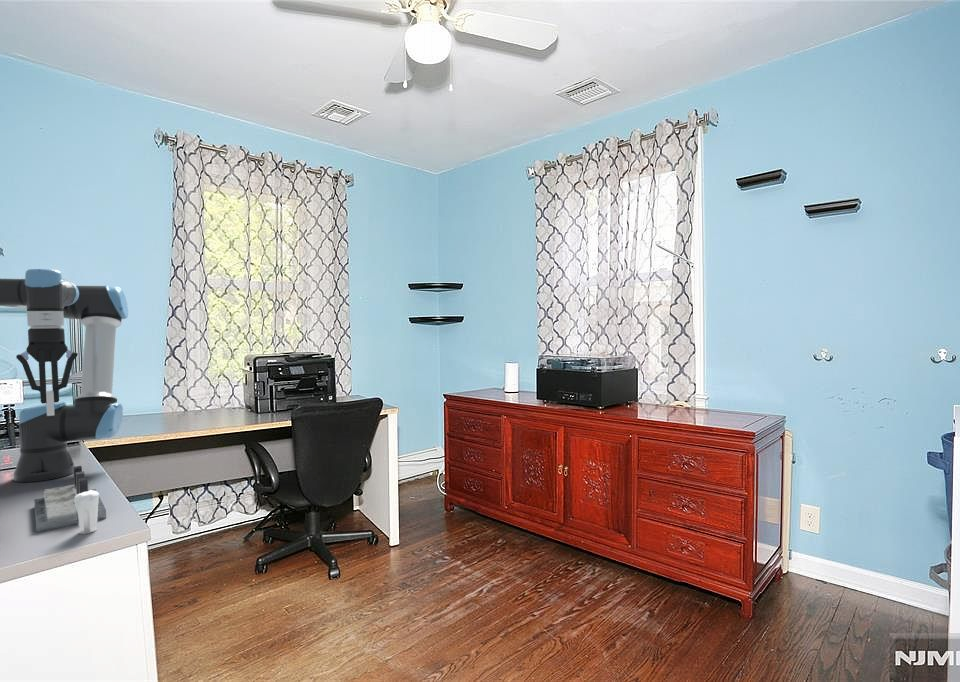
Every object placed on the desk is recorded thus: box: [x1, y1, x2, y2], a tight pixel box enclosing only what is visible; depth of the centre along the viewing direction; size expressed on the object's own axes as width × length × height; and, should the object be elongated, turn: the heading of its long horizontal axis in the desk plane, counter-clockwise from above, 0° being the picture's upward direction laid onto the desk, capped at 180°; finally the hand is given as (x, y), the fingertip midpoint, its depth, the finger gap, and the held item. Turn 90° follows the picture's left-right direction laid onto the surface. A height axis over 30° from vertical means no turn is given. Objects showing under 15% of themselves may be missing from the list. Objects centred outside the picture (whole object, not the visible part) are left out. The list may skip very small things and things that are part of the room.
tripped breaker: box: [76, 470, 86, 493], centre depth 134 cm, size 3×2×5 cm, turn 41°
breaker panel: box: [33, 465, 107, 533], centre depth 132 cm, size 24×13×10 cm, turn 41°
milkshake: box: [73, 488, 100, 535], centre depth 119 cm, size 5×5×10 cm
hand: (50, 414), depth 141 cm, fingers closed
